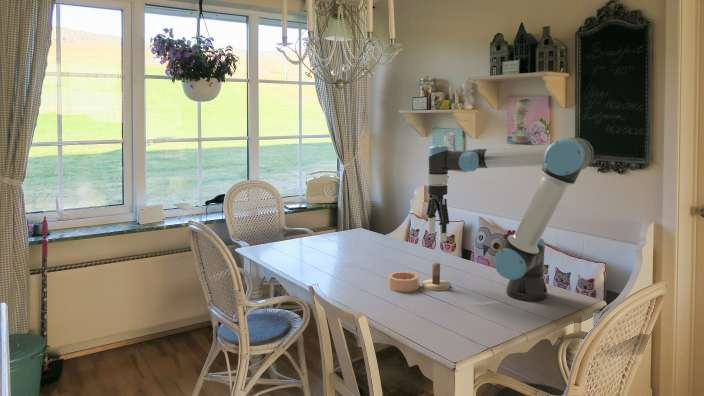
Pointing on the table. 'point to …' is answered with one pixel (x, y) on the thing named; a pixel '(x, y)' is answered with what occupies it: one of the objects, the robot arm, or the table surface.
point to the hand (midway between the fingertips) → (437, 237)
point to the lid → (436, 280)
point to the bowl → (403, 281)
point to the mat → (434, 290)
